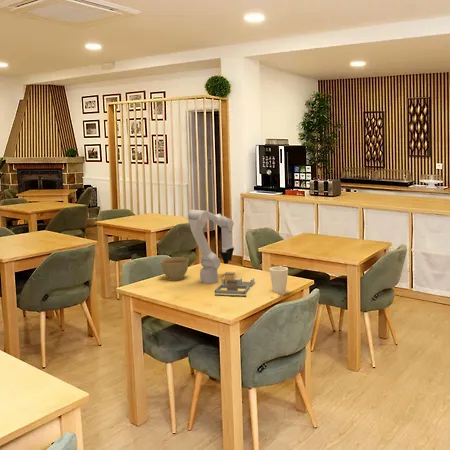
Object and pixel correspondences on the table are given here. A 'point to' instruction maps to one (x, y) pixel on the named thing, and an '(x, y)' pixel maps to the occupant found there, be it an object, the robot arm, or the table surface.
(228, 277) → the fuse
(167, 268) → the planter bowl
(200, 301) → the table surface
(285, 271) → the foam cup
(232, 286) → the block
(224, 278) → the block
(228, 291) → the parts tray
